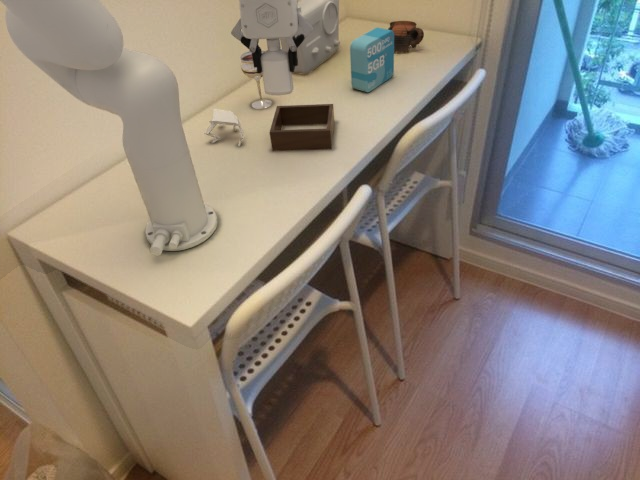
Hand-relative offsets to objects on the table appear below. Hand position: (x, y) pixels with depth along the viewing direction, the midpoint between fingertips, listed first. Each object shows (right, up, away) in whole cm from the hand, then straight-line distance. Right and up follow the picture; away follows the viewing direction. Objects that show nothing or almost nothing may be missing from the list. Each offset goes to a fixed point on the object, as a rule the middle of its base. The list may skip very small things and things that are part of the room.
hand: (276, 69), depth 102 cm
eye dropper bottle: (0, -4, +3) cm, 5 cm away
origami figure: (-12, -10, +16) cm, 22 cm away
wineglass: (-6, 0, +27) cm, 27 cm away
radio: (+7, +16, +44) cm, 47 cm away
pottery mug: (+32, +21, +46) cm, 60 cm away
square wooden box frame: (+5, -10, +13) cm, 18 cm away
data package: (+22, +6, +31) cm, 38 cm away
